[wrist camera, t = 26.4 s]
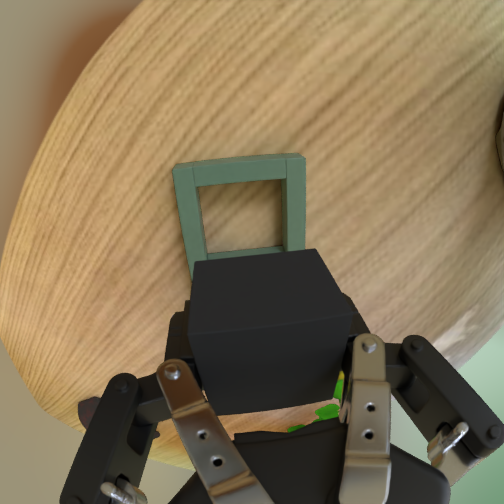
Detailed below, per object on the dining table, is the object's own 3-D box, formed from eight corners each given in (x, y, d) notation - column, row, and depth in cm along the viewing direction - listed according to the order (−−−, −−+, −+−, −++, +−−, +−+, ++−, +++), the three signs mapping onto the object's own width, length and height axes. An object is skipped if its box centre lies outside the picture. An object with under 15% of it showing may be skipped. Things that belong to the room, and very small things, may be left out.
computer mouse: (100, 393, 34) (95, 415, 30) (164, 432, 40) (163, 452, 37) (74, 403, 35) (68, 423, 32) (133, 439, 42) (131, 457, 38)
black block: (211, 345, 15) (213, 416, 11) (194, 260, 13) (185, 334, 9) (309, 333, 16) (332, 399, 12) (315, 247, 13) (354, 312, 9)
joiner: (206, 333, 30) (206, 347, 28) (175, 164, 21) (171, 169, 19) (296, 323, 30) (301, 336, 28) (298, 152, 22) (306, 157, 20)
